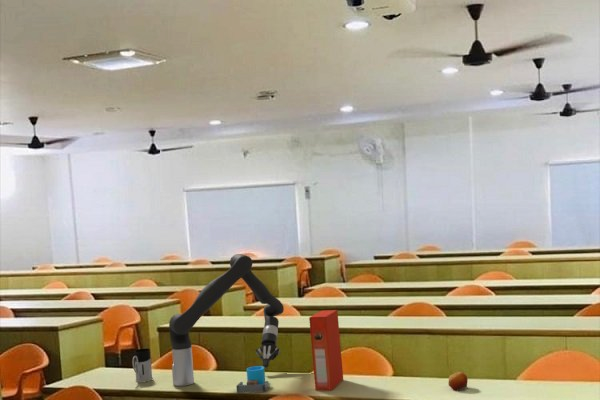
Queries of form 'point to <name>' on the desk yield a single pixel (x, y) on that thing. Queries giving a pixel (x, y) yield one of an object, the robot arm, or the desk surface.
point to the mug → (256, 374)
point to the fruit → (458, 381)
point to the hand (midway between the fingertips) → (265, 366)
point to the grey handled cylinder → (142, 365)
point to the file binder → (326, 349)
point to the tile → (252, 382)
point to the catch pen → (252, 387)
